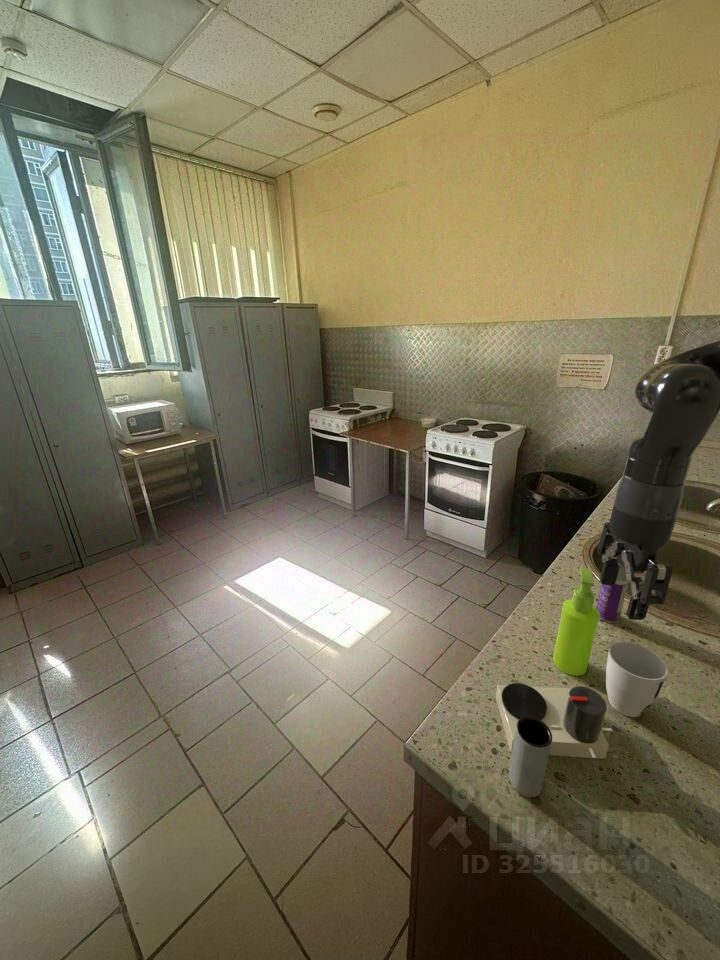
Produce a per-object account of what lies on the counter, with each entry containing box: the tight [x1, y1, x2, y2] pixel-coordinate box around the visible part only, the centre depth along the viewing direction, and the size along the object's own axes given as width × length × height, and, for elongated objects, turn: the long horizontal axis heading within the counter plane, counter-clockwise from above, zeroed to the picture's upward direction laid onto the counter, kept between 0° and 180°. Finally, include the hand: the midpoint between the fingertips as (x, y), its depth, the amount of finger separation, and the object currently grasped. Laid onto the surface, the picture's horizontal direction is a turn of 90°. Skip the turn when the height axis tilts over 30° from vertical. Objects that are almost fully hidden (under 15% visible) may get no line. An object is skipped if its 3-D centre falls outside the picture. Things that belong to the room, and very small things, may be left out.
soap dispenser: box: [552, 566, 599, 677], centre depth 74 cm, size 6×7×20 cm
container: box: [595, 563, 630, 624], centre depth 87 cm, size 5×5×15 cm
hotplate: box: [502, 682, 547, 720], centre depth 66 cm, size 7×7×1 cm
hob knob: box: [563, 685, 608, 744], centre depth 60 cm, size 5×5×6 cm
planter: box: [508, 716, 552, 798], centre depth 56 cm, size 4×4×10 cm
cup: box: [605, 641, 669, 718], centre depth 67 cm, size 8×8×10 cm
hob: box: [495, 684, 613, 760], centre depth 64 cm, size 16×12×3 cm
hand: (619, 599), depth 62 cm, fingers open, 8 cm apart
